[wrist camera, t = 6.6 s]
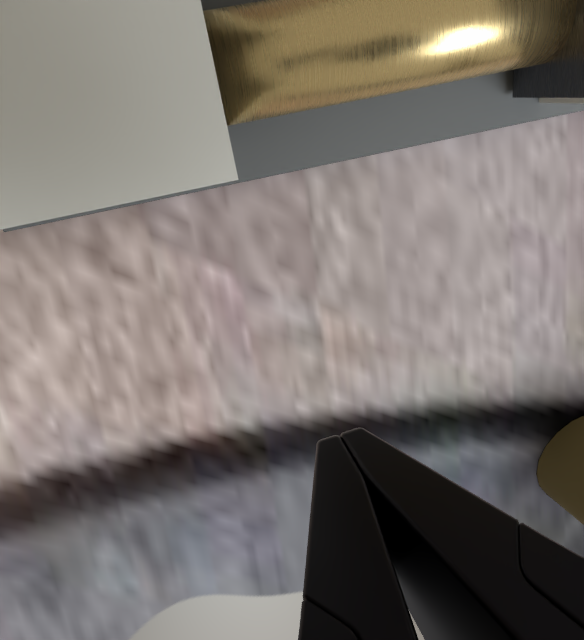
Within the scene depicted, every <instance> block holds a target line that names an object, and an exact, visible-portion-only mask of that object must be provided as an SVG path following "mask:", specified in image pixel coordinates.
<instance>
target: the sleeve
mask: <svg viewBox="0 0 584 640" xmlns="http://www.w3.org/2000/svg"><path fill="white" fill-rule="evenodd" d="M235 180H238V175H237V170H236V166H235V161H234V156H233V151H232V147H231V142H230V137H229V132H228V128H227V123H226V118H225V113H224V109H223V104H222V99H221V95H220V90H219V85H218V80H217V76H216V71H215V66H214V61H213V57H212V52H211V47H210V42H209V38H208V33H207V28H206V24H205V19H204V14H203V9H202V5H201V0H0V230H1V229H6V228H11V227H15V226H20V225H25V224H30V223H35V222H39V221H44V220H49V219H54V218H58V217H63V216H68V215H73V214H78V213H82V212H87V211H92V210H97V209H101V208H106V207H111V206H116V205H121V204H125V203H130V202H135V201H140V200H144V199H149V198H154V197H159V196H163V195H168V194H173V193H178V192H183V191H187V190H192V189H197V188H202V187H206V186H211V185H216V184H221V183H226V182H230V181H235Z"/></svg>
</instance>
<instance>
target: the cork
mask: <svg viewBox="0 0 584 640" xmlns="http://www.w3.org/2000/svg"><path fill="white" fill-rule="evenodd" d="M537 478H538V482H539V486H540V487H541V488H542V489H543V490H544V492H545V493H546V494H547V495H548V496H550V497H551V498H552V499H553V500H554V501H556V502H557V503H558V504H559V505H560V506H562V507H563V508H564V509H565V510H566V511H568V512H569V513H570V514H571V515H573V516H574V517H575V518H576V519H577V520H579V521H580V522H581V523H582V524H583V525H584V416H582V417H580V418H578V419H576V420H573V421H572V422H570V423H569V424H568V425H566V426H565V427H564V428H563V429H561V430H560V431H559V432H557V433H556V435H555V436H554V437H553V438H552V439H551V441H550V442H549V443H548V444H547V445H546V447H545V449H544V451H543V453H542V455H541V457H540V459H539V462H538V469H537Z"/></svg>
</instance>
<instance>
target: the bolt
mask: <svg viewBox="0 0 584 640" xmlns="http://www.w3.org/2000/svg"><path fill="white" fill-rule="evenodd" d="M203 14H204V19H205V24H206V28H207V33H208V38H209V42H210V47H211V52H212V57H213V61H214V66H215V71H216V76H217V80H218V85H219V90H220V95H221V99H222V104H223V109H224V113H225V118H226V123H227V126H230V125H235V124H240V123H245V122H250V121H256V120H261V119H266V118H271V117H276V116H281V115H286V114H291V113H296V112H301V111H306V110H311V109H316V108H322V107H327V106H332V105H337V104H342V103H347V102H352V101H357V100H362V99H367V98H372V97H377V96H383V95H388V94H393V93H398V92H403V91H408V90H413V89H418V88H423V87H428V86H433V85H438V84H443V83H449V82H454V81H459V80H464V79H469V78H474V77H479V76H484V75H489V74H494V73H499V72H504V71H509V70H513V97H512V98H584V0H264V1H258V2H252V3H246V4H241V5H235V6H229V7H223V8H217V9H211V10H205V11H203Z"/></svg>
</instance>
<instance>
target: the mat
mask: <svg viewBox="0 0 584 640" xmlns="http://www.w3.org/2000/svg"><path fill="white" fill-rule="evenodd" d="M258 1H264V0H201V5H202V9H203V11H205V10H211V9H217V8H223V7H229V6H235V5H241V4H246V3H252V2H258ZM512 97H513V70H509V71H504V72H499V73H494V74H489V75H484V76H479V77H474V78H469V79H464V80H459V81H454V82H449V83H443V84H438V85H433V86H428V87H423V88H418V89H413V90H408V91H403V92H398V93H393V94H388V95H383V96H377V97H372V98H367V99H362V100H357V101H352V102H347V103H342V104H337V105H332V106H327V107H322V108H316V109H311V110H306V111H301V112H296V113H291V114H286V115H281V116H276V117H271V118H266V119H261V120H256V121H250V122H245V123H240V124H235V125H230V126H227V128H228V132H229V137H230V142H231V147H232V151H233V156H234V161H235V166H236V170H237V175H238V180H235V181H230V182H226V183H221V184H216V185H211V186H206V187H202V188H197V189H192V190H187V191H183V192H178V193H173V194H168V195H163V196H159V197H154V198H149V199H144V200H140V201H135V202H130V203H125V204H121V205H116V206H111V207H106V208H101V209H97V210H92V211H87V212H82V213H78V214H73V215H68V216H63V217H58V218H54V219H49V220H44V221H39V222H35V223H30V224H25V225H20V226H15V227H11V228H6V229H3V231H4V232H7V231H12V230H17V229H22V228H26V227H31V226H36V225H41V224H45V223H50V222H55V221H60V220H64V219H69V218H74V217H79V216H83V215H88V214H93V213H98V212H102V211H107V210H112V209H117V208H121V207H126V206H131V205H136V204H141V203H145V202H150V201H155V200H160V199H164V198H169V197H174V196H179V195H183V194H188V193H193V192H198V191H202V190H207V189H212V188H217V187H221V186H226V185H231V184H236V183H240V182H245V181H250V180H255V179H259V178H264V177H269V176H274V175H279V174H283V173H288V172H293V171H298V170H302V169H307V168H312V167H317V166H321V165H326V164H331V163H336V162H340V161H345V160H350V159H355V158H359V157H364V156H369V155H374V154H378V153H383V152H388V151H393V150H397V149H402V148H407V147H412V146H417V145H421V144H426V143H431V142H436V141H440V140H445V139H450V138H455V137H459V136H464V135H469V134H474V133H478V132H483V131H488V130H493V129H497V128H502V127H507V126H512V125H516V124H521V123H526V122H531V121H535V120H540V119H545V118H550V117H555V116H559V115H564V114H569V113H574V112H578V111H583V110H584V104H581V103H539V98H512Z"/></svg>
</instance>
